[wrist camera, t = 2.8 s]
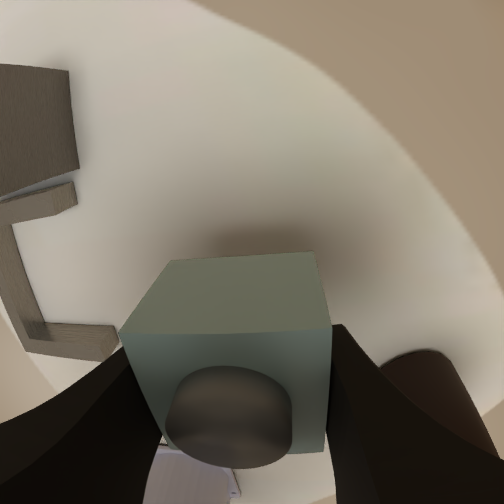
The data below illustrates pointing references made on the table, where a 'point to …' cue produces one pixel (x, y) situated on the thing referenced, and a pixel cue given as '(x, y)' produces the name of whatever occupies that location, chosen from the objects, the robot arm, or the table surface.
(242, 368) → the pale blue block
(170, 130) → the table surface
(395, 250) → the table surface
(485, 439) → the bottle
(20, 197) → the motor mount
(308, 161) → the table surface
